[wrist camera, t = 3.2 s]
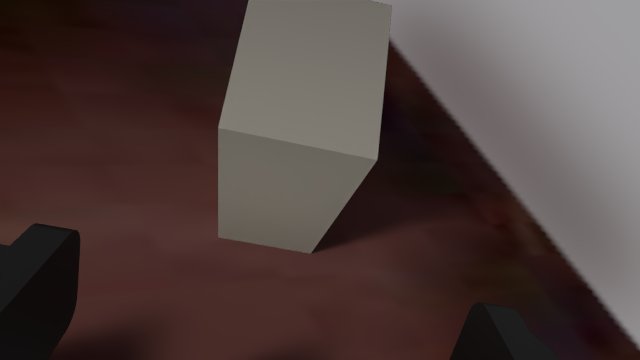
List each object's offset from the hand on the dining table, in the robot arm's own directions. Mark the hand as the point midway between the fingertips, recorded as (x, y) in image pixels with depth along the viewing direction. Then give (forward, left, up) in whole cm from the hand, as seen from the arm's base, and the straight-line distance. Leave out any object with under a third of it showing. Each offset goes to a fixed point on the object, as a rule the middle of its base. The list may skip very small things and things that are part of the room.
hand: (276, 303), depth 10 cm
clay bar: (-4, +5, -11) cm, 12 cm away
